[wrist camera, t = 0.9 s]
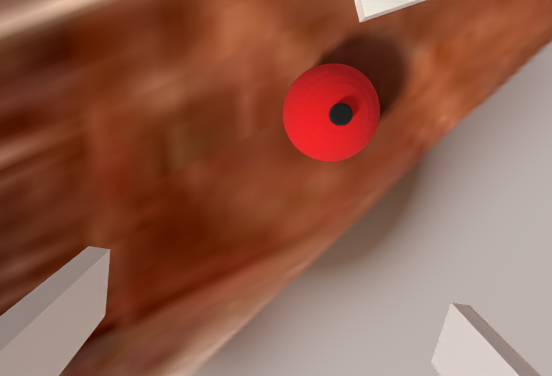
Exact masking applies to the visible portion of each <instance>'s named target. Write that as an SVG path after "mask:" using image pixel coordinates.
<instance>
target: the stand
mask: <svg viewBox="0 0 552 376" xmlns="http://www.w3.org/2000/svg"><path fill="white" fill-rule="evenodd" d="M354 1H355V5H356V9H357V13H358V17H359V21H360V22H363V21H366V20H369V19H372V18H375V17H378V16H381V15H384V14H387V13H390V12H393V11H396V10H399V9H402V8H405V7H408V6H411V5H414V4H417V3H420V2H423V1H426V0H354Z"/></svg>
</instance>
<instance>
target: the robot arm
mask: <svg viewBox="0 0 552 376" xmlns="http://www.w3.org/2000/svg"><path fill="white" fill-rule="evenodd" d="M109 259H110V249H103V248H97V247H90V246H89V247H87V248H86V249H85V250H83V251H82V252H81V253H80V254H78V255H77V256H76V257H75V258H73V259H72V260H71V261H70V262H68V263H67V264H66V265H65V266H63V267H62V268H61V269H60V270H58V271H57V272H56V273H54V274H53V275H52V276H51V277H49V278H48V279H47V280H46V281H44V282H43V283H42V284H41V285H39V286H38V287H37V288H36V289H34V290H33V291H32V292H31V293H29V294H28V295H27V296H25V297H24V298H23V299H22V300H20V301H19V302H18V303H17V304H15V305H14V306H13V307H12V308H10V309H9V310H8V311H7V312H5V313H4V314H3V315H2V316H0V376H59V375H60V373H61V372H62V371H63V370H64V368H65V367H66V366H67V364H68V363H69V362H70V360H71V359H72V358H73V357H74V355H75V354H76V353H77V351H78V350H79V349H80V347H81V346H82V345H83V344H84V342H85V341H86V340H87V338H88V337H89V336H90V334H91V333H92V332H93V330H94V329H95V328H96V327H97V325H98V324H99V323H100V321H101V320H102V319H103V317H104V316H105V309H106V297H107V284H108V271H109ZM431 362H432V364H433V366H434V367H435V369H436V370H437V372H438V374H439V375H440V376H540V375H539V374H538V373H537V372H536V371H535V370H534V369H533V368H532V367H531V366H530V365H529V364H528V363H527V362H526V361H525V360H524V359H523V358H522V357H521V356H520V355H519V354H518V353H517V352H516V351H515V350H514V349H513V348H512V347H511V346H510V345H509V344H508V343H507V342H506V341H505V340H504V339H503V338H502V337H501V336H500V335H499V334H498V333H497V332H496V331H495V330H494V329H493V328H492V327H491V326H490V325H489V324H488V323H487V322H486V321H485V320H484V319H483V318H482V317H481V316H480V315H479V314H478V313H477V312H476V311H475V310H473V308H472V307H470V306H468V305H462V304H455V303H451V305H450V308H449V311H448V314H447V317H446V320H445V323H444V326H443V329H442V332H441V335H440V338H439V341H438V344H437V347H436V350H435V353H434V356H433V359H432V361H431Z"/></svg>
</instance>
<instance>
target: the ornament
mask: <svg viewBox="0 0 552 376" xmlns="http://www.w3.org/2000/svg"><path fill="white" fill-rule="evenodd" d="M379 117H380V104H379V99H378V95H377V93H376V90H375V88H374V86H373V85H372V83H371V82H370V80H369V79H368V78H367V77H366V76H365V75H364V74H363V73H362V72H360V71H358V70H357V69H355V68H353V67H351V66H348V65H345V64H338V63H330V64H322V65H319V66H315V67H313V68H311V69H309V70H307V71H305V72H304V73H303V74H302V75H301V76H299V77H298V78H297V79H296V81H295V82H294V83H293V84H292V85H291V87H290V89H289V91H288V93H287V95H286V98H285V101H284V107H283V122H284V126H285V130H286V132H287V134H288V136H289V138H290V140H291V141H292V143H293V144H294V145H295V147H296V148H298V149H299V150H300V151H301V152H302V153H304V154H306V155H307V156H309V157H311V158H314V159H317V160H321V161H339V160H343V159H347V158H349V157H351V156H353V155H355V154H357V153H358V152H359V151H360V150H362V149H363V148H364V147H365V146H366V145H367V144H368V143H369V141H370V140H371V138H372V137H373V135H374V133H375V131H376V129H377V126H378V123H379Z"/></svg>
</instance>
